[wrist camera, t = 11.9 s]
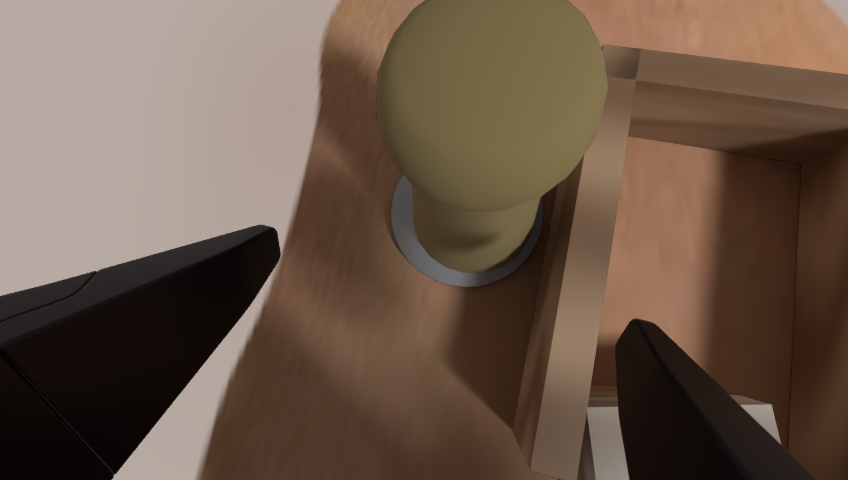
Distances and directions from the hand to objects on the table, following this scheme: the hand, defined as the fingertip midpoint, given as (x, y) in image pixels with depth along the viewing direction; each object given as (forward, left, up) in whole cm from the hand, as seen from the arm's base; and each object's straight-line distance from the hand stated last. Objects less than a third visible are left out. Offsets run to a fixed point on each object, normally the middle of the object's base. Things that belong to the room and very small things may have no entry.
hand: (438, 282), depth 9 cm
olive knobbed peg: (+4, -2, -8) cm, 9 cm away
